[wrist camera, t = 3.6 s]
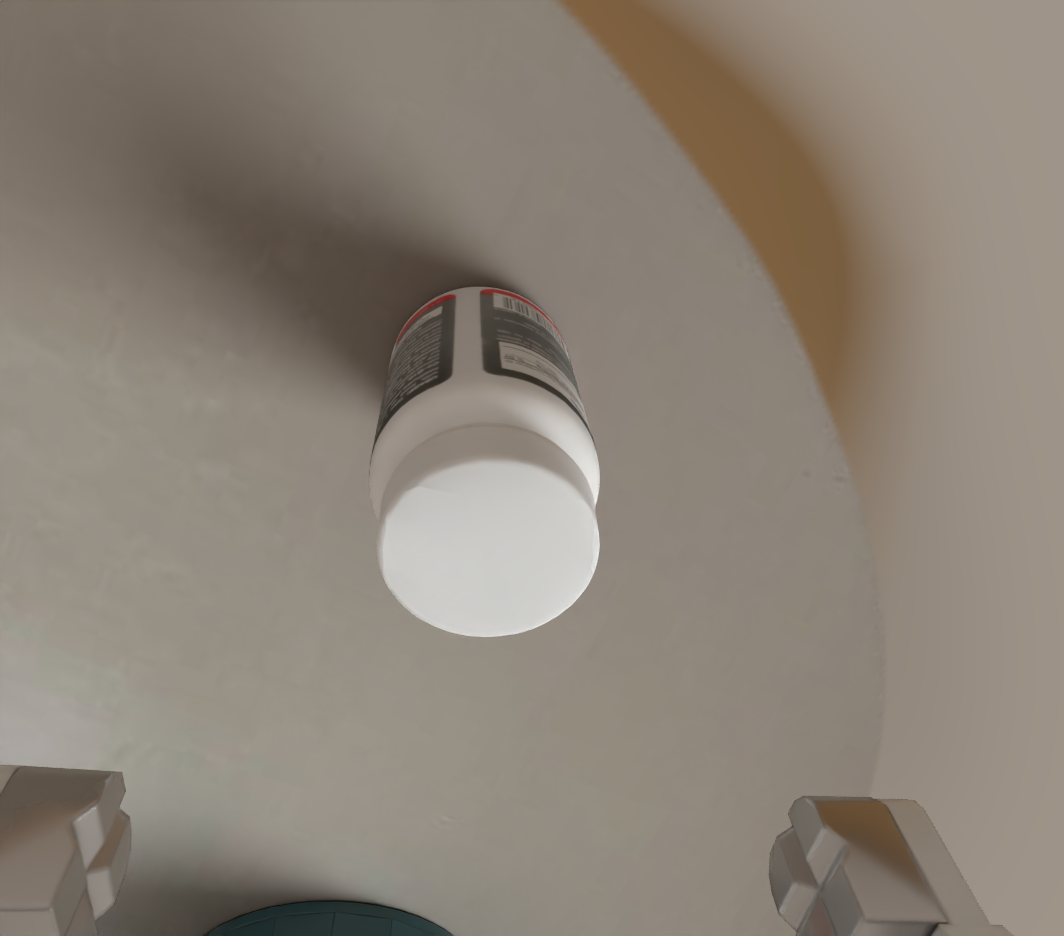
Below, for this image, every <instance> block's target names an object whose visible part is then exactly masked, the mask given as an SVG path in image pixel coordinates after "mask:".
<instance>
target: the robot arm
mask: <svg viewBox="0 0 1064 936" xmlns="http://www.w3.org/2000/svg"><path fill="white" fill-rule="evenodd" d="M125 792H126V789H125V784H124V779H123V774H122V772H114V771H98V770H81V769H65V768H48V767H32V766H16V765H0V936H98V934H97V929H96V923H95V921H96V920H97V919H98V918H99V917H100V916H102V915H103V914H104V913H105V912H106V911H107V910H108V909H109V908H111V907H112V906H113V905H114V904H115V902H116V899H117V896H118V894H119V891H120V888H121V885H122V883H123V880H124V876H125V872H126V867H127V863H128V859H129V854H130V848H131V823H130V817H129V816H128V815H127V814H126V813H125V812H123V811H122V810H121V809H120V808H119V807H120V804H121V802H122V800H123V797H124V795H125ZM788 816H789V818H790V821H791V823H792V827H790V828H789V829H787V830H786V831H784V832H783V833H781V834H780V835H778V836H777V837H776V840H775V842H774V845H773V847H772V849H771V852H770V861H769V879H770V885H771V891H772V895H773V898H774V901H775V904H776V907H777V910H778V913H779V915H780V916H781V917H782V918H783V919H784V920H785V921H786V922H787V923H788V924H789V925H790V926H791V927H792V928H793V929H794V930H795V931H796V932H797V933H796V936H1014V935H1013V934H1012V933H1010V932H1009V931H1008V930H1007V929H1006V928H1005V927H1003V926H1002V925H991V924H990V923H989V921H988V919H987V917H986V916H985V914H984V912H983V910H982V909H981V907H980V905H979V903H978V902H977V900H976V898H975V896H974V895H973V893H972V891H971V889H970V888H969V886H968V884H967V882H966V881H965V879H964V877H963V876H962V874H961V872H960V870H959V869H958V867H957V865H956V863H955V862H954V860H953V858H952V856H951V855H950V853H949V851H948V850H947V848H946V846H945V844H944V842H943V841H942V839H941V837H940V835H939V834H938V832H937V830H936V829H935V827H934V825H933V823H932V822H931V820H930V818H929V817H928V815H927V813H926V811H925V810H924V808H923V807H922V806H920V805H919V804H918V803H917V802H916V801H915V800H907V799H873V798H871V797H832V796H802V797H800V798H799V799H797V800H795V801H794V803H793V805H792V807H791V809H790V811H789V813H788Z"/></svg>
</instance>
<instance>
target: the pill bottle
mask: <svg viewBox="0 0 1064 936" xmlns="http://www.w3.org/2000/svg"><path fill="white" fill-rule="evenodd" d="M599 483H600V475H599V463H598V458H597V453H596V448H595V444H594V440H593V437H592V435H591V431H590V428H589V424H588V421H587V417H586V414H585V410H584V406H583V403H582V400H581V397H580V394H579V390H578V387H577V383H576V379H575V376H574V373H573V369H572V365H571V361H570V358H569V354H568V350H567V348H566V345H565V343H564V341H563V338H562V336H561V334H560V332H559V330H558V329H557V327H556V326H555V324H554V323H553V322H552V320H551V319H550V318H549V317H548V316H547V314H545V313H544V312H543V311H542V310H541V309H540V308H539V307H538V306H537V305H535V304H534V303H532V302H531V301H530V300H528V299H526V298H524V297H522V296H520V295H518V294H516V293H513V292H510V291H507V290H503V289H498V288H491V287H466V288H460V289H456V290H452V291H449V292H446V293H444V294H442V295H439V296H437V297H435V298H434V299H432V300H430V301H429V302H427V303H426V304H425V305H423V306H422V307H421V308H419V309H418V310H417V311H416V312H415V313H414V314H413V315H412V316H411V317H410V319H409V320H408V321H407V322H406V323H405V325H404V327H403V328H402V330H401V332H400V334H399V336H398V338H397V340H396V343H395V345H394V349H393V352H392V356H391V360H390V365H389V370H388V375H387V379H386V385H385V390H384V394H383V399H382V404H381V410H380V415H379V420H378V425H377V430H376V435H375V440H374V445H373V449H372V455H371V461H370V470H369V485H370V495H371V502H372V505H373V509H374V512H375V515H376V517H377V519H378V522H379V524H378V532H377V542H376V550H377V559H378V564H379V567H380V571H381V574H382V576H383V579H384V581H385V583H386V585H387V586H388V588H389V589H390V591H391V592H392V594H393V595H394V597H395V598H396V599H397V600H398V601H399V602H400V603H401V604H402V605H403V606H404V607H405V608H406V609H407V610H409V611H410V612H411V613H412V614H413V615H415V616H416V617H418V618H419V619H421V620H423V621H425V622H427V623H429V624H431V625H433V626H435V627H437V628H440V629H442V630H445V631H448V632H452V633H457V634H462V635H468V636H478V637H492V636H504V635H510V634H516V633H520V632H524V631H527V630H530V629H533V628H536V627H538V626H540V625H542V624H544V623H546V622H548V621H550V620H552V619H553V618H555V617H557V616H558V615H560V614H561V613H562V612H563V611H565V610H566V609H567V608H568V607H570V606H571V605H572V604H573V603H574V602H575V601H576V600H577V599H578V598H579V596H580V595H581V594H582V592H583V591H584V590H585V588H586V587H587V586H588V584H589V582H590V580H591V578H592V576H593V573H594V571H595V568H596V564H597V561H598V555H599V547H600V545H599V532H598V525H597V520H596V515H595V505H596V501H597V497H598V493H599Z"/></svg>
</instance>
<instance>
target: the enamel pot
mask: <svg viewBox="0 0 1064 936" xmlns="http://www.w3.org/2000/svg"><path fill="white" fill-rule="evenodd" d="M204 936H452V935H451V934H450V933H449V932H447V931H446V930H444V929H442V928H440V927H439V926H437V925H435V924H433V923H431V922H429V921H427V920H425V919H422V918H420V917H418V916H415V915H412V914H409V913H406V912H403V911H399V910H395V909H391V908H387V907H382V906H377V905H370V904H363V903H355V902H339V901H321V902H304V903H293V904H287V905H281V906H275V907H270V908H266V909H262V910H259V911H255V912H251V913H249V914H246V915H243V916H240V917H237V918H235V919H233V920H230V921H228V922H226V923H224V924H222V925H220V926H218V927H217V928H215V929H214V930H212V931H210V932H209V933H207V934H206V935H204Z"/></svg>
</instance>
